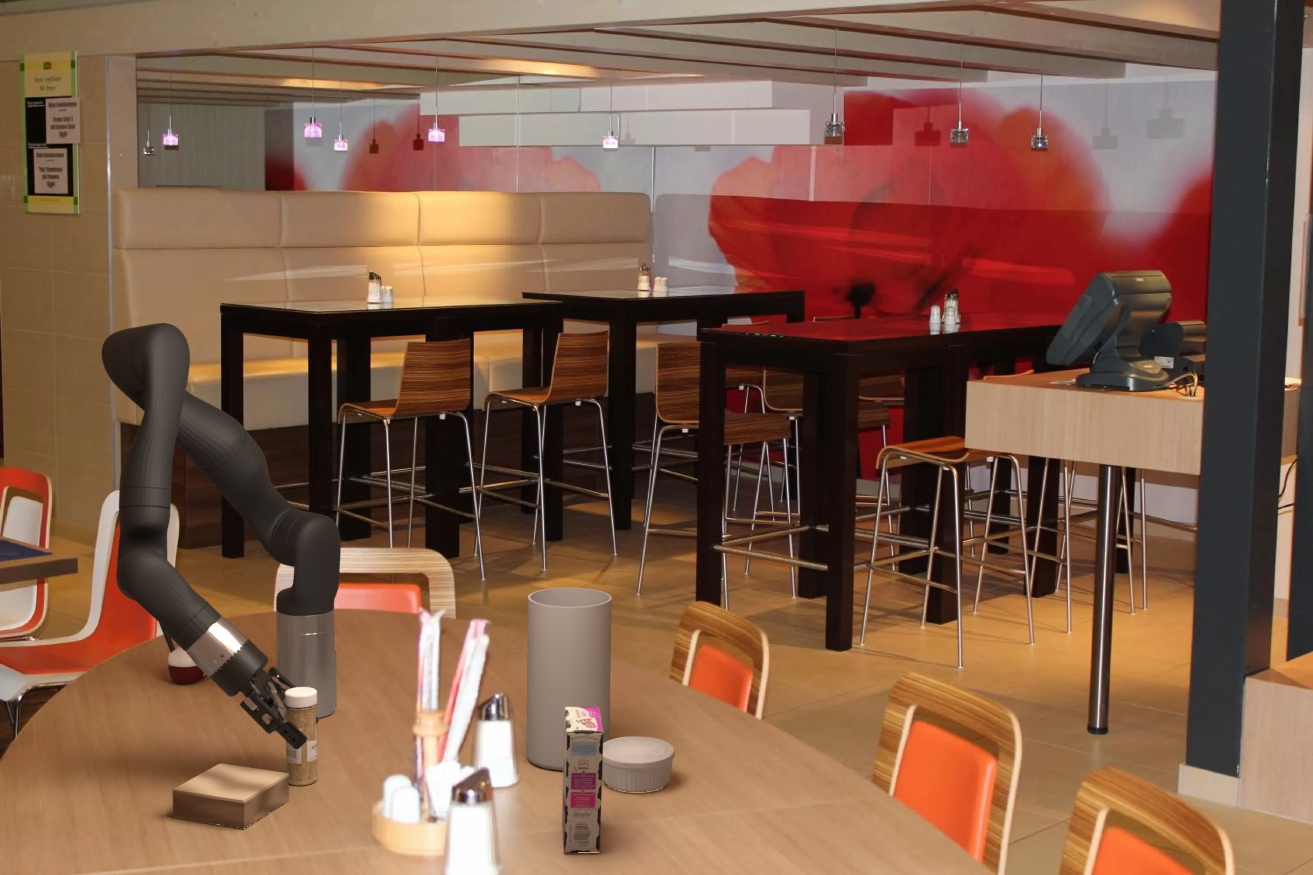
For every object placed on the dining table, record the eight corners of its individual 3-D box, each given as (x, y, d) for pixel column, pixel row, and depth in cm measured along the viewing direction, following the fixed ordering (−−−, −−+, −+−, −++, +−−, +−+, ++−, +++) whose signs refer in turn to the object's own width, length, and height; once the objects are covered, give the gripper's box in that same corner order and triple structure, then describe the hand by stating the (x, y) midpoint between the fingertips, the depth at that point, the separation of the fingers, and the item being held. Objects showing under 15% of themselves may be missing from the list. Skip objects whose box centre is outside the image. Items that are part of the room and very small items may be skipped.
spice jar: (322, 782, 222) (321, 692, 221) (292, 788, 220) (291, 696, 218) (311, 773, 226) (310, 683, 224) (280, 778, 224) (279, 688, 222)
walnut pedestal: (220, 790, 219) (220, 763, 218) (289, 800, 215) (288, 773, 215) (173, 817, 208) (172, 789, 208) (244, 829, 205) (243, 800, 204)
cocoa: (217, 682, 271) (220, 615, 269) (194, 690, 265) (197, 622, 263) (173, 673, 274) (176, 607, 273) (149, 681, 268) (152, 613, 267)
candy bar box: (602, 854, 199) (604, 731, 197) (563, 855, 199) (565, 731, 196) (598, 821, 210) (600, 704, 208) (561, 822, 210) (563, 704, 207)
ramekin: (618, 802, 218) (618, 765, 217) (584, 776, 227) (585, 741, 227) (688, 790, 223) (689, 754, 222) (652, 765, 233) (653, 731, 232)
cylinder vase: (577, 778, 226) (580, 611, 223) (509, 761, 233) (511, 599, 229) (624, 754, 237) (627, 595, 233) (558, 739, 243) (560, 583, 240)
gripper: (233, 651, 213) (318, 733, 215) (256, 625, 227) (336, 702, 229) (195, 688, 213) (279, 769, 215) (220, 660, 227) (300, 736, 229)
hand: (308, 734), depth 222 cm, fingers open, 8 cm apart
